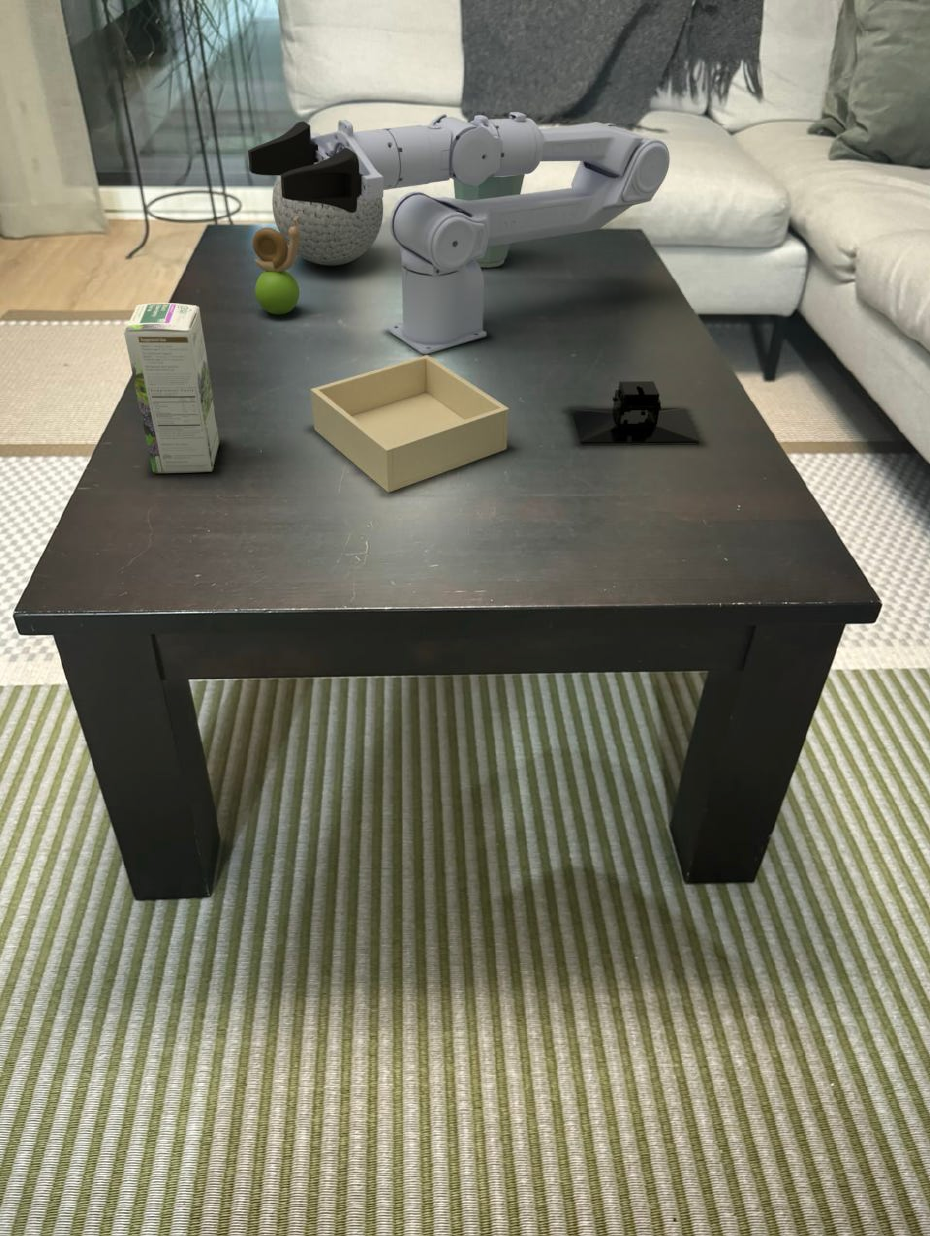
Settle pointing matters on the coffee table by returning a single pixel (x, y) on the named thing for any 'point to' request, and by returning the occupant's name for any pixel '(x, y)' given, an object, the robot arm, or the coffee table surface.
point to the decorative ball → (328, 227)
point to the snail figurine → (276, 269)
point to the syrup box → (173, 386)
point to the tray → (409, 421)
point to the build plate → (634, 420)
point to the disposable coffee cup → (486, 190)
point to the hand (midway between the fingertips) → (265, 174)
